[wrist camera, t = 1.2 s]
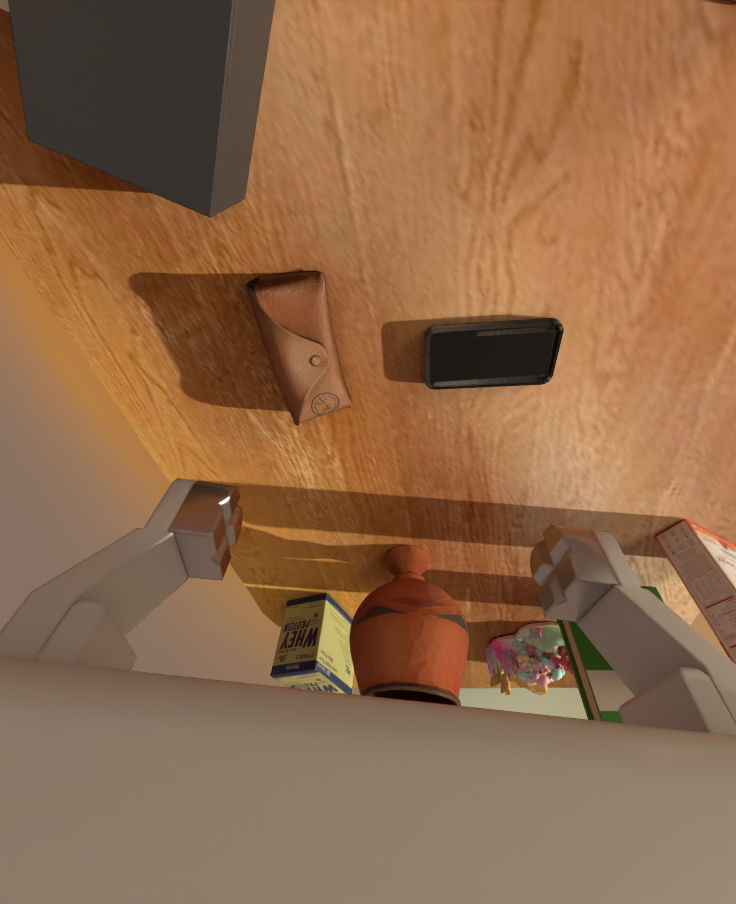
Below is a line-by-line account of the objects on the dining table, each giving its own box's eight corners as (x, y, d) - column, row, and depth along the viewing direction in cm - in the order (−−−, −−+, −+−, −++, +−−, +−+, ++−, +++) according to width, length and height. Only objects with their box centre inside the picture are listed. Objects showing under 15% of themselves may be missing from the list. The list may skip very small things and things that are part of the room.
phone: (550, 384, 47) (425, 390, 49) (547, 379, 48) (424, 385, 50) (566, 320, 42) (425, 329, 44) (562, 316, 43) (424, 325, 45)
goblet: (432, 513, 66) (445, 674, 47) (473, 572, 76) (498, 723, 57) (337, 543, 73) (315, 694, 54) (386, 593, 83) (383, 734, 64)
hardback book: (553, 608, 83) (596, 746, 65) (558, 589, 78) (607, 733, 60) (644, 606, 80) (715, 750, 62) (655, 587, 76) (736, 736, 57)
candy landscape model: (561, 671, 103) (573, 712, 96) (472, 661, 102) (478, 701, 95) (609, 627, 87) (628, 672, 80) (505, 615, 86) (514, 660, 79)
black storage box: (87, -127, 26) (-25, -213, 19) (278, -19, 29) (239, -62, 22) (100, 135, 35) (27, 140, 28) (244, 199, 38) (210, 218, 31)
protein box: (326, 592, 84) (314, 669, 72) (358, 625, 93) (352, 698, 81) (286, 600, 88) (268, 675, 76) (320, 631, 96) (309, 703, 85)
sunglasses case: (357, 408, 52) (326, 438, 48) (318, 399, 56) (286, 425, 52) (323, 265, 41) (279, 289, 37) (276, 265, 45) (232, 287, 41)
